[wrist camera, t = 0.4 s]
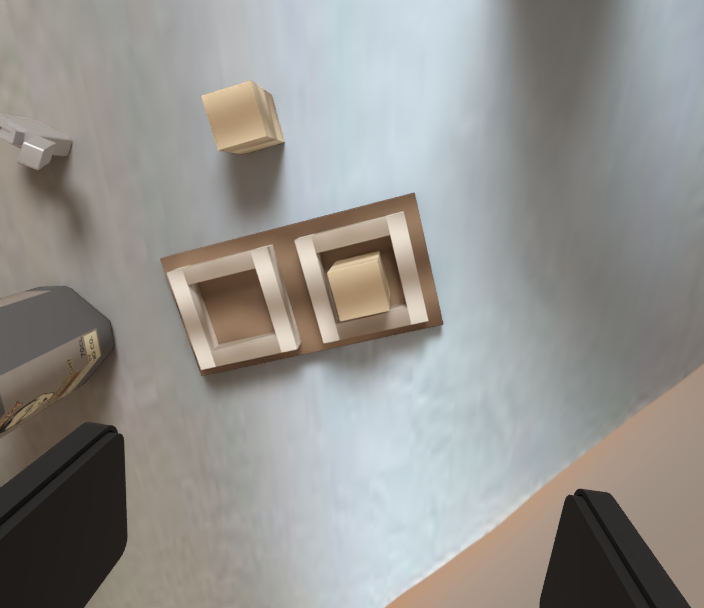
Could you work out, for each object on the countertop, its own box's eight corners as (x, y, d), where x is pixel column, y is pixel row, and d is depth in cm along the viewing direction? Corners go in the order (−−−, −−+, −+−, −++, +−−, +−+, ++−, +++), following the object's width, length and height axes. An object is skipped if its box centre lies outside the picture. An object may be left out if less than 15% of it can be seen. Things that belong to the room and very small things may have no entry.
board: (167, 256, 44) (123, 271, 37) (414, 192, 41) (418, 195, 34) (207, 370, 47) (173, 404, 40) (441, 319, 44) (451, 347, 36)
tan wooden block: (228, 107, 41) (201, 95, 35) (271, 94, 40) (250, 80, 34) (242, 154, 41) (218, 150, 36) (284, 142, 41) (266, 136, 35)
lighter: (26, 135, 43) (-55, 126, 35) (31, 118, 42) (-50, 104, 35) (96, 172, 43) (31, 170, 35) (102, 155, 43) (37, 149, 35)
